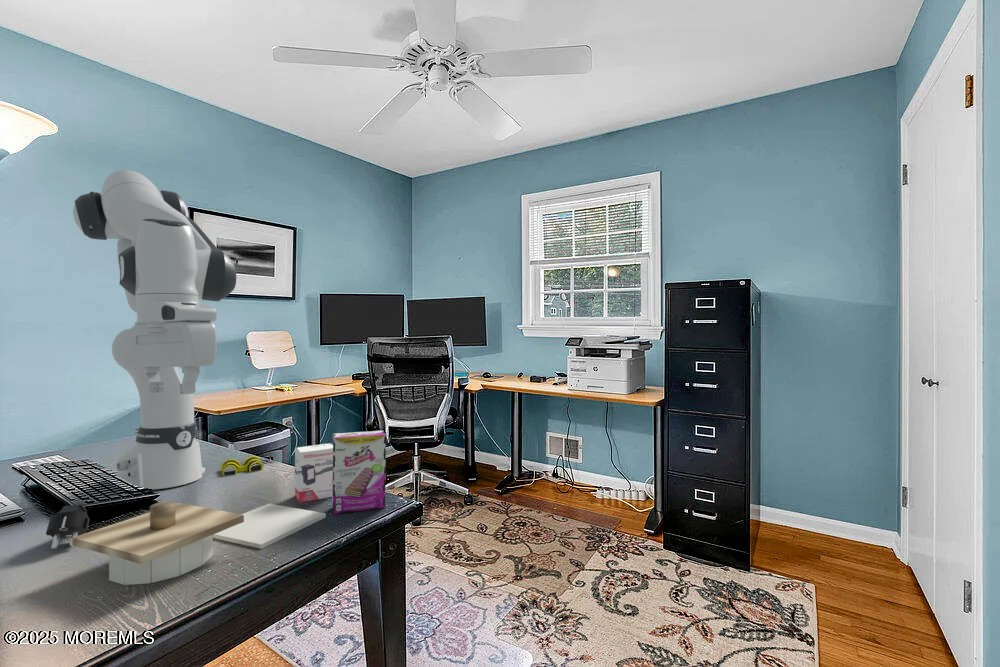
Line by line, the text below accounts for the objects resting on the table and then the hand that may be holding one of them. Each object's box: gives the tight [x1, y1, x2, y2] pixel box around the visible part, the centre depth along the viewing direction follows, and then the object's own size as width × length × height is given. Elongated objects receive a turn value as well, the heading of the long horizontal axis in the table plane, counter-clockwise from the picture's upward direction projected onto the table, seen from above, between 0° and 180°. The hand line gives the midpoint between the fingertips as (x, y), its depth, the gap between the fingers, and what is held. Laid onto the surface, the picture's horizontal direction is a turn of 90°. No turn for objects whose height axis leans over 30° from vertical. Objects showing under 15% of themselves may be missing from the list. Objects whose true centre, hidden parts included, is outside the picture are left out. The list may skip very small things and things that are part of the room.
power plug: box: [45, 503, 90, 550], centre depth 90 cm, size 6×8×12 cm
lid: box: [72, 500, 244, 564], centre depth 81 cm, size 17×17×5 cm
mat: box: [213, 503, 327, 550], centre depth 97 cm, size 16×16×1 cm
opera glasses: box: [220, 455, 264, 476], centre depth 130 cm, size 10×5×5 cm, turn 124°
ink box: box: [294, 443, 333, 504], centre depth 113 cm, size 8×5×12 cm, turn 123°
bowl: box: [108, 535, 214, 586], centre depth 81 cm, size 14×14×5 cm
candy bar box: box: [331, 430, 387, 515], centre depth 106 cm, size 11×5×16 cm, turn 110°
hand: (171, 393), depth 83 cm, fingers open, 8 cm apart
